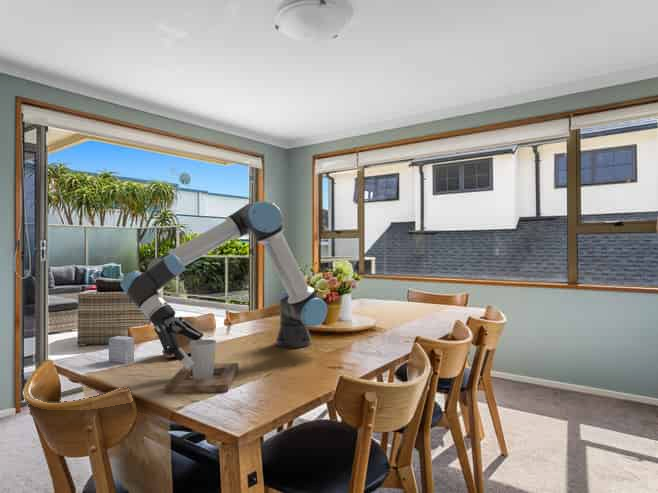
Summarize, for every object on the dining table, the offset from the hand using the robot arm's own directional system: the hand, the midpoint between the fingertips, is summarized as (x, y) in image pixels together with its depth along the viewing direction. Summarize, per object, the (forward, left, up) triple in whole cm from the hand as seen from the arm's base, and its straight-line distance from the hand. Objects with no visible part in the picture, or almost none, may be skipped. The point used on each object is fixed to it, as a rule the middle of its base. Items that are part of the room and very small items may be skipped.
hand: (201, 360), depth 130 cm
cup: (-1, 0, -6) cm, 6 cm away
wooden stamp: (+15, -31, -7) cm, 35 cm away
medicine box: (+34, -23, -7) cm, 42 cm away
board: (-1, 0, -6) cm, 6 cm away
